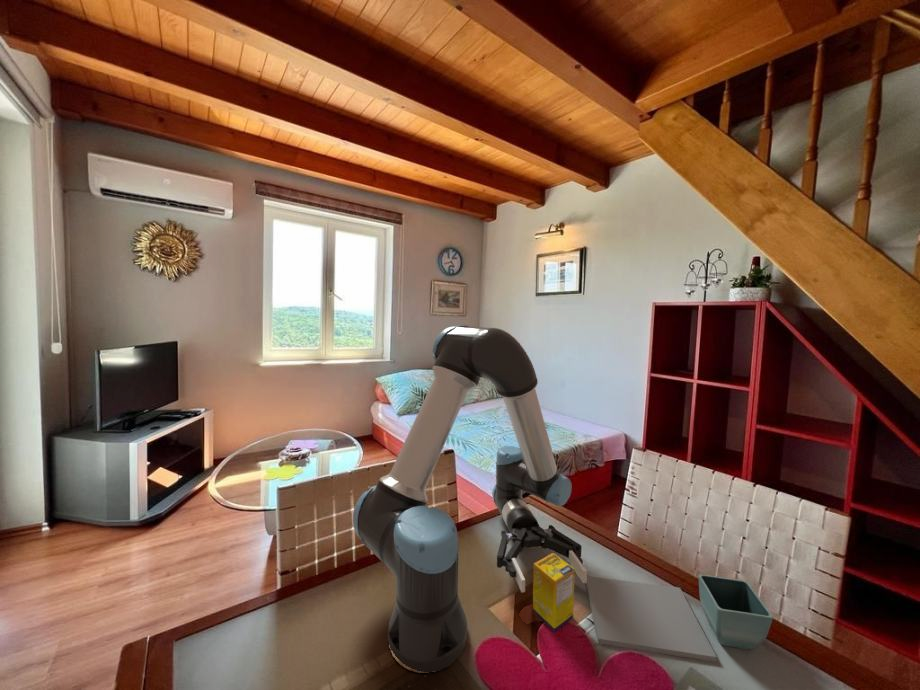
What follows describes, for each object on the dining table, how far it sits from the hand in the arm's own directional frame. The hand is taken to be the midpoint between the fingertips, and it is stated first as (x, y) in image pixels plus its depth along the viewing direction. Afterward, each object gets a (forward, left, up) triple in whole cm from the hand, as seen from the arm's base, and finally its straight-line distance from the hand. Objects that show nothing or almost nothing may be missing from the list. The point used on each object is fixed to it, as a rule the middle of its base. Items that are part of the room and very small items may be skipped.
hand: (554, 581), depth 75 cm
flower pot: (+33, 0, -7) cm, 33 cm away
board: (+18, +2, -6) cm, 19 cm away
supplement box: (0, -1, -7) cm, 7 cm away
